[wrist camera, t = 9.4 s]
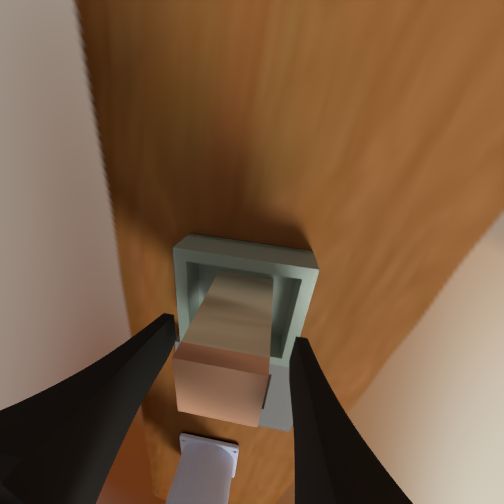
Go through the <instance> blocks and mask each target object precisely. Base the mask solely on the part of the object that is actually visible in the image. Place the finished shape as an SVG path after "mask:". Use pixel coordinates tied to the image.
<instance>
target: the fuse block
mask: <svg viewBox="0 0 504 504" xmlns="http://www.w3.org/2000/svg"><path fill="white" fill-rule="evenodd" d="M273 284H274V279H267V278H261V277H255V276H248V275H242V274H235V273H229V272H223V271H219V272H218V274H217V275H216V277H215V279H214V281H213V283H212V285H211V287H210V288H209V290H208V292H207V294H206V296H205V298H204V300H203V301H202V303H201V305H200V307H199V309H198V311H197V313H196V314H195V316H194V318H193V320H192V322H191V324H190V326H189V327H188V329H187V331H186V333H185V335H184V337H183V339H182V340H181V342H180V344H179V346H178V348H177V350H176V352H175V353H174V355H173V357H172V361H173V370H174V379H175V388H176V397H177V406H178V411H181V412H186V413H190V414H195V415H200V416H205V417H210V418H214V419H219V420H224V421H229V422H233V423H238V424H243V425H248V426H252V427H258V423H259V418H260V414H261V409H262V405H263V400H264V396H265V391H266V387H267V382H268V378H269V364H270V344H271V324H272V304H273Z"/></svg>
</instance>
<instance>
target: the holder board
mask: <svg viewBox="0 0 504 504" xmlns="http://www.w3.org/2000/svg"><path fill="white" fill-rule="evenodd" d="M179 344H180V335H178V336H177V338H176V341H175V350H177V348H178V346H179ZM269 374H270V375H269V379H268V384H267V388H266V392H265V397H264V400H263V405H262V409H261V414H260V418H259V423H258V426H263V427H268V428H273V429H277V430H282V431H287V432H290V430H291V427H292V424H293V416H292V406H291V395H290V384H289V367H284V366H279V365H274V364H269Z"/></svg>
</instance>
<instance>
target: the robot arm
mask: <svg viewBox="0 0 504 504" xmlns="http://www.w3.org/2000/svg"><path fill="white" fill-rule="evenodd" d="M175 341H176V333H175V322H174V315H171V314H166V313H164V314H162V315H161V316H160V317H158V318H157V319H156V320H154V321H153V322H152V323H150V324H149V325H148V326H147V327H145V328H144V329H143V330H141V331H140V332H139V333H137V334H136V335H135V336H133V337H132V338H131V339H129V340H128V341H127V342H125V343H124V344H122V345H121V346H119V347H118V348H116V349H115V350H114V351H112V352H111V353H109V354H108V355H106V356H105V357H103V358H102V359H100V360H98V361H97V362H95V363H93V364H92V365H90V366H88V367H87V368H85V369H84V370H82V371H80V372H78V373H76V374H75V375H73V376H71V377H69V378H67V379H65V380H63V381H61V382H60V383H58V384H56V385H54V386H52V387H50V388H48V389H46V390H44V391H42V392H40V393H38V394H36V395H34V396H32V397H30V398H27V399H25V400H23V401H21V402H19V403H17V404H15V405H12V406H10V407H8V408H5V409H3V410H1V411H0V504H96V501H97V499H98V497H99V494H100V492H101V489H102V487H103V485H104V482H105V480H106V477H107V475H108V473H109V471H110V468H111V466H112V464H113V462H114V460H115V457H116V455H117V453H118V451H119V448H120V446H121V444H122V442H123V440H124V438H125V435H126V433H127V431H128V429H129V427H130V425H131V423H132V421H133V419H134V417H135V415H136V412H137V411H138V408H139V406H140V405H141V403H142V401H143V399H144V397H145V396H146V394H147V392H148V391H149V389H150V387H151V385H152V384H153V382H154V380H155V379H156V377H157V375H158V374H159V372H160V370H161V369H162V367H163V365H164V363H165V362H166V360H167V358H168V356H169V354H170V352H171V350H172V348H173V345H174V343H175ZM289 384H290V395H291V406H292V416H293V427H294V450H295V504H413V503H412V502H411V501H410V500H409V498H408V497H407V496H406V495H405V494H404V492H403V491H402V490H401V489H400V487H399V486H398V485H397V484H396V482H395V481H394V480H393V478H392V477H391V476H390V475H389V473H388V472H387V471H386V470H385V468H384V467H383V466H382V464H381V463H380V462H379V460H378V459H377V457H376V456H375V455H374V453H373V452H372V451H371V449H370V448H369V447H368V445H367V444H366V442H365V441H364V440H363V438H362V437H361V435H360V434H359V432H358V431H357V429H356V428H355V426H354V425H353V423H352V422H351V420H350V419H349V417H348V416H347V414H346V413H345V411H344V409H343V408H342V406H341V404H340V403H339V401H338V399H337V398H336V396H335V394H334V392H333V391H332V389H331V387H330V385H329V383H328V381H327V379H326V378H325V376H324V374H323V372H322V370H321V368H320V366H319V364H318V361H317V359H316V357H315V355H314V353H313V350H312V348H311V346H310V343H309V341H308V339H307V338H302V337H297V336H296V338H295V342H294V345H293V349H292V352H291V356H290V360H289ZM180 446H181V458H180V461H179V464H178V467H177V470H176V473H175V476H174V479H173V482H172V485H171V488H170V492H169V495H168V498H167V501H166V504H228V498H229V491H230V485H231V478H234V477H235V471H236V464H237V458H238V452H239V446H238V445H236V444H231V443H227V442H222V441H217V440H213V439H208V438H204V437H199V436H194V435H190V434H185V433H181V435H180Z"/></svg>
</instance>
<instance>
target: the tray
mask: <svg viewBox="0 0 504 504" xmlns="http://www.w3.org/2000/svg"><path fill="white" fill-rule="evenodd" d="M173 259H174V272H175V284H176V297H177V310H178V322H179V335H180V342H181V340H182V339H183V337H184V335H185V333H186V331H187V329H188V327H189V326H190V324H191V322H192V320H193V318H194V316H195V314H196V313H197V311H198V309H199V307H200V305H201V303H202V301H203V300H204V298H205V296H206V294H207V292H208V290H209V288H210V287H211V285H212V283H213V281H214V279H215V277H216V275H217V274H218V272H219V271H223V272H229V273H235V274H242V275H248V276H255V277H261V278H267V279H274V284H273V304H272V324H271V344H270V364H274V365H279V366H284V367H289V360H290V356H291V352H292V349H293V345H294V342H295V338H296V336H297V337H300V334H301V331H302V328H303V324H304V321H305V317H306V314H307V311H308V307H309V304H310V300H311V297H312V294H313V290H314V287H315V283H316V280H317V276H318V273H319V267H318V264H317V261H316V258H315V256H314V253H313V251H309V250H302V249H295V248H289V247H282V246H275V245H268V244H261V243H254V242H247V241H241V240H234V239H227V238H220V237H213V236H206V235H199V234H192V233H189V234H188V235H187V236H186V237H184V238H183V239H182V240H181V241H180V242H178V243H177V244H176V245H175V246H174V247H173Z"/></svg>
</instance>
